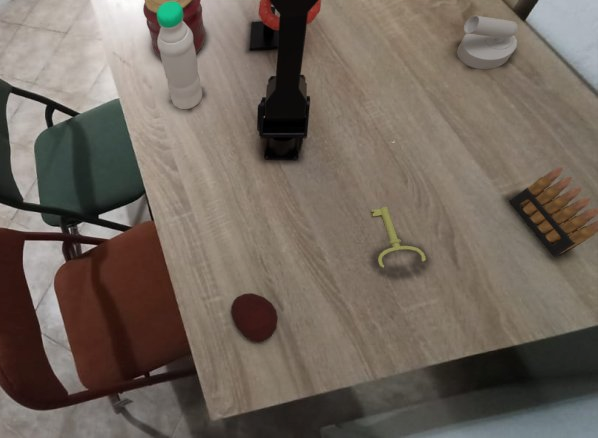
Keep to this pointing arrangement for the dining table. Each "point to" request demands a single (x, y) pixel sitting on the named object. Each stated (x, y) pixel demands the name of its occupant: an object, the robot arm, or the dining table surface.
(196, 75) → the water bottle
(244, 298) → the potato
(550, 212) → the ammunition clip
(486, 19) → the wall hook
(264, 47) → the black angled piece
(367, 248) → the dining table surface
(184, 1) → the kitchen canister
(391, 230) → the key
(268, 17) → the red ring
